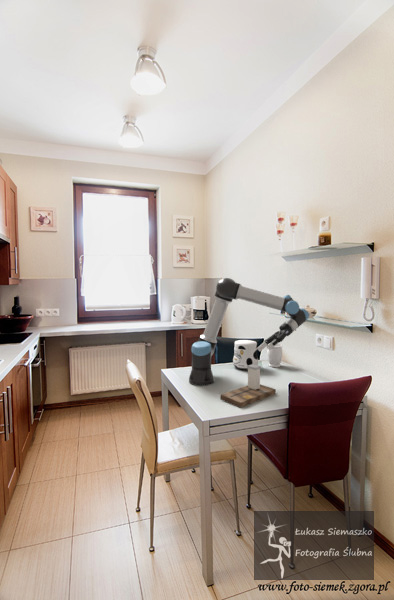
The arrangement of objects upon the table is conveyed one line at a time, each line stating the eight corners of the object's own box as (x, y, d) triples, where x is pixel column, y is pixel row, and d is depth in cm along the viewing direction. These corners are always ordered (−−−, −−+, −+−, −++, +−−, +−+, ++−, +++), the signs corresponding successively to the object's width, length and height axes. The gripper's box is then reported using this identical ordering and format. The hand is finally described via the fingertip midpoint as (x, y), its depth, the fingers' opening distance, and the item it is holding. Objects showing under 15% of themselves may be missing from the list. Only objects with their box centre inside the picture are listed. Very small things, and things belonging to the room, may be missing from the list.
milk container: (228, 368, 219) (228, 342, 218) (240, 362, 234) (240, 338, 232) (251, 372, 210) (251, 345, 208) (262, 366, 224) (262, 341, 222)
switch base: (255, 387, 182) (255, 382, 182) (275, 393, 172) (275, 389, 172) (220, 399, 164) (220, 394, 164) (240, 407, 154) (240, 402, 154)
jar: (279, 368, 218) (279, 347, 217) (265, 366, 224) (265, 345, 223) (284, 365, 227) (284, 344, 226) (270, 363, 233) (270, 342, 232)
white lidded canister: (252, 385, 176) (252, 364, 176) (260, 388, 172) (260, 366, 171) (247, 387, 173) (247, 365, 173) (255, 390, 169) (255, 367, 168)
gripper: (303, 329, 178) (276, 353, 171) (282, 334, 201) (258, 355, 195) (295, 319, 178) (268, 342, 172) (275, 325, 202) (251, 345, 195)
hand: (263, 349), depth 183 cm, fingers open, 13 cm apart
